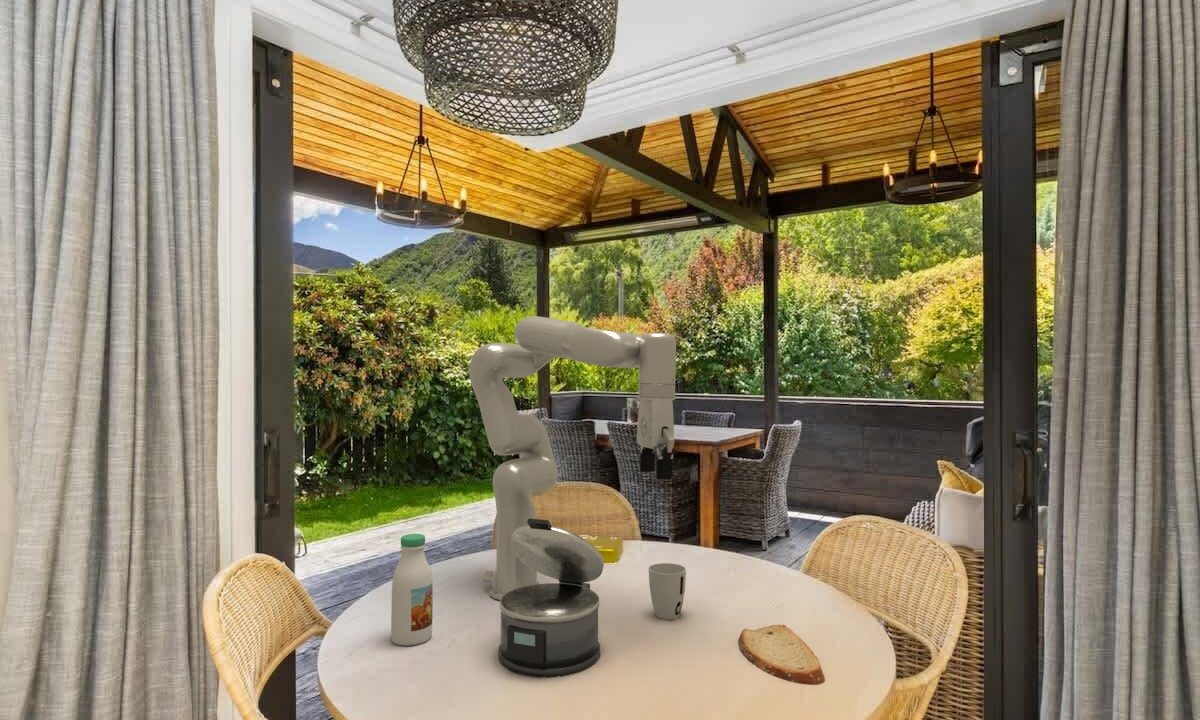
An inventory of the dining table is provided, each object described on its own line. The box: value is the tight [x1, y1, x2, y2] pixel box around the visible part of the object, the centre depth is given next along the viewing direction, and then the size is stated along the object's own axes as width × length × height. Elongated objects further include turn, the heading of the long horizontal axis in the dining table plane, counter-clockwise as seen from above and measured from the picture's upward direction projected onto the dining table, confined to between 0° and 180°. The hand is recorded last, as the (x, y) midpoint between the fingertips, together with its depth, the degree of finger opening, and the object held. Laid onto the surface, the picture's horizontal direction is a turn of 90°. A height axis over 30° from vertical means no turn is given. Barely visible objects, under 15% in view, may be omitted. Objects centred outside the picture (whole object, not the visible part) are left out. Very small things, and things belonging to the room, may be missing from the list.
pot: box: [497, 582, 601, 678], centre depth 119 cm, size 19×22×10 cm
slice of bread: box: [737, 624, 826, 686], centre depth 117 cm, size 18×18×4 cm
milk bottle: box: [390, 533, 434, 647], centre depth 125 cm, size 8×8×20 cm
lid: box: [510, 518, 605, 585], centre depth 121 cm, size 18×21×3 cm
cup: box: [648, 562, 687, 620], centre depth 138 cm, size 8×8×10 cm
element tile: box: [577, 534, 624, 563], centre depth 184 cm, size 15×15×5 cm
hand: (655, 475), depth 132 cm, fingers open, 9 cm apart
